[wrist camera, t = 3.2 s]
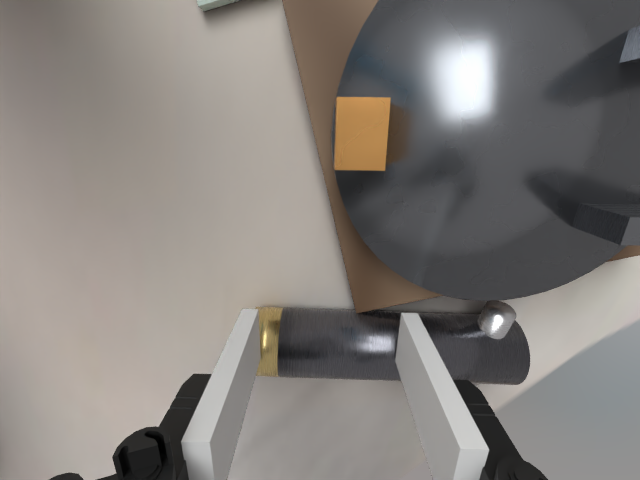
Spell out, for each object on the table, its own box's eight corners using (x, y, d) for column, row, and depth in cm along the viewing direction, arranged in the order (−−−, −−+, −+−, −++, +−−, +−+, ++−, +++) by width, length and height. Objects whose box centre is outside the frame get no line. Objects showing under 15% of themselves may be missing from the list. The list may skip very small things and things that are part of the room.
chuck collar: (327, 278, 16) (329, 327, 12) (335, -69, 11) (342, -177, 7) (601, 282, 16) (695, 332, 12) (719, -64, 11) (935, -171, 7)
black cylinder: (263, 346, 20) (477, 353, 20) (253, 401, 17) (503, 409, 17) (256, 277, 17) (512, 286, 17) (241, 330, 14) (552, 341, 14)
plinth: (353, 299, 18) (356, 313, 17) (283, 1, 13) (279, -14, 12) (623, 242, 17) (651, 252, 16) (650, -107, 12) (693, -138, 11)
